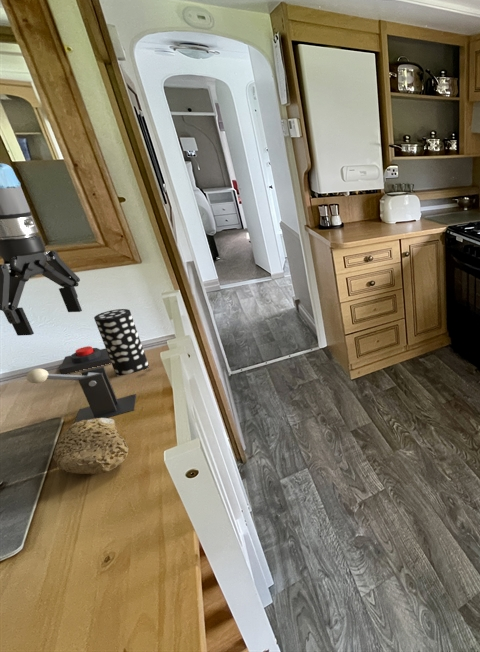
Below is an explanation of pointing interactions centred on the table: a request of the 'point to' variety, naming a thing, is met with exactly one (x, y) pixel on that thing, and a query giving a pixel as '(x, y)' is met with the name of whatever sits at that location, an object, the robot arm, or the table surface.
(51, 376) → the switch lever
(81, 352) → the power button
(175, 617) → the table surface
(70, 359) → the red push button box
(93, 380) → the lever base
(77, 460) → the sponge
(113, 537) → the table surface
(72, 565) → the table surface
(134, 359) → the white-spotted black cylinder
